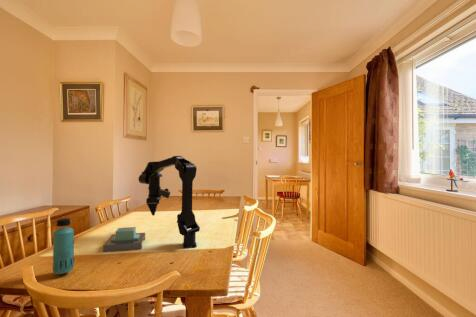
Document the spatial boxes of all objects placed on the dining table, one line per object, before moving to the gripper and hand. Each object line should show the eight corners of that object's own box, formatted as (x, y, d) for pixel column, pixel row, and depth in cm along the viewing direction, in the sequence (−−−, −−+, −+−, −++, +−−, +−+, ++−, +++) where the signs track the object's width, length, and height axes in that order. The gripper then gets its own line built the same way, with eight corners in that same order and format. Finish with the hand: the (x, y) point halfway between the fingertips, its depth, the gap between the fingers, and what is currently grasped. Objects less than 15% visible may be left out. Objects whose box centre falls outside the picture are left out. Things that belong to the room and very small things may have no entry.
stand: (141, 249, 116) (141, 242, 116) (103, 252, 112) (103, 245, 112) (145, 238, 131) (145, 232, 131) (112, 240, 128) (112, 234, 128)
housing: (110, 241, 117) (110, 231, 117) (113, 237, 123) (114, 227, 123) (138, 239, 120) (138, 229, 120) (139, 235, 126) (140, 226, 126)
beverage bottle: (57, 280, 86) (57, 222, 86) (48, 275, 90) (49, 219, 90) (77, 272, 92) (78, 218, 92) (68, 268, 95) (69, 216, 95)
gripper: (169, 186, 129) (169, 216, 129) (170, 182, 147) (169, 209, 147) (146, 186, 126) (146, 217, 126) (150, 183, 145) (149, 210, 145)
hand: (154, 213), depth 136 cm, fingers open, 9 cm apart
